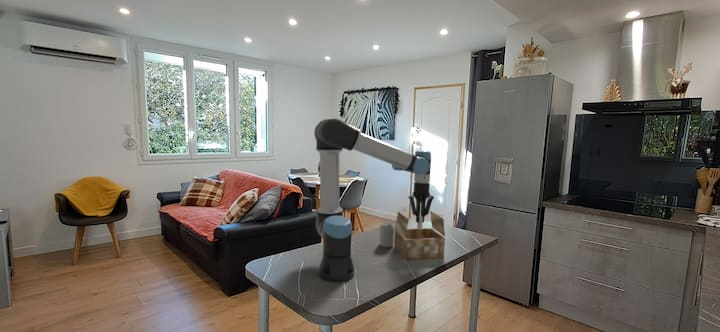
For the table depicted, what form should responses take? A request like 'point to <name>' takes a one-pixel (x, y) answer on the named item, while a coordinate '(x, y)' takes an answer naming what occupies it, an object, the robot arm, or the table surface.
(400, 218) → the flap left
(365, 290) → the table surface
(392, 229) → the can
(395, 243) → the carton
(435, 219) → the flap right
